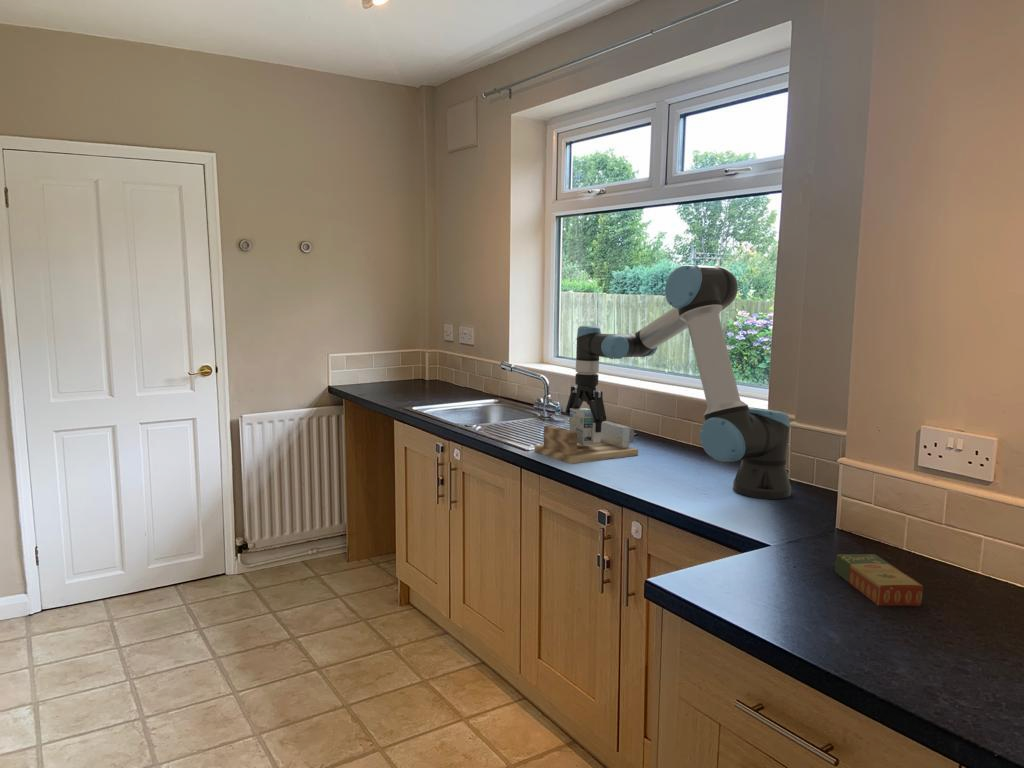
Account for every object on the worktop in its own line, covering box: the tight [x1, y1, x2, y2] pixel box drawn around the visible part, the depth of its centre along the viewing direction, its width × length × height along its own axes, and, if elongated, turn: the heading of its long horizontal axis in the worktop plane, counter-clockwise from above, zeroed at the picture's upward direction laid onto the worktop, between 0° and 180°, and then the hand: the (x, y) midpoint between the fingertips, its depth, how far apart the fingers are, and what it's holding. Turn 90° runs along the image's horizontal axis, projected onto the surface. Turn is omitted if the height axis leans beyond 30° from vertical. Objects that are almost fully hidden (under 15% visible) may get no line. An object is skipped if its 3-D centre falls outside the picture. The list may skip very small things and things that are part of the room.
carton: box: [834, 553, 924, 607], centre depth 140 cm, size 8×16×4 cm, turn 3°
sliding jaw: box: [601, 420, 635, 448], centre depth 255 cm, size 14×10×7 cm
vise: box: [533, 424, 639, 465], centre depth 247 cm, size 20×28×9 cm
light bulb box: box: [569, 407, 601, 445], centre depth 246 cm, size 11×7×11 cm, turn 22°
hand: (584, 438), depth 247 cm, fingers closed on light bulb box, 11 cm apart
